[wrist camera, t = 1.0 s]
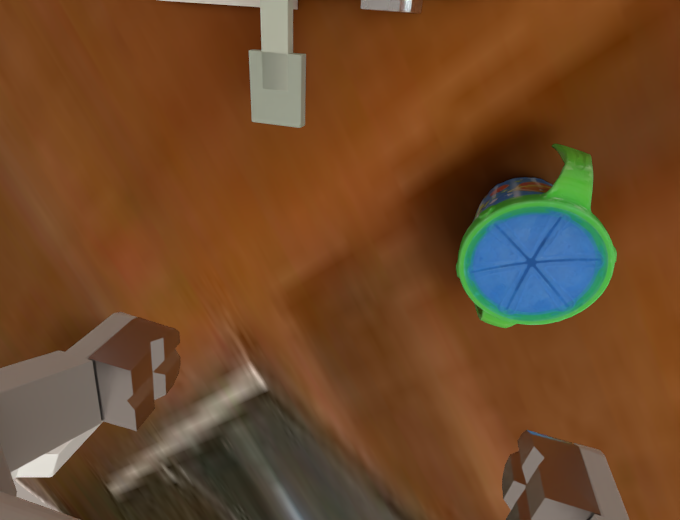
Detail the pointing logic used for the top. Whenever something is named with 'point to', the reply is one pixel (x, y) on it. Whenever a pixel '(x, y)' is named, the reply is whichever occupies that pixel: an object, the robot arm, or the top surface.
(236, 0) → the white flat rimmed tray
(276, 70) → the lever
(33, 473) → the milk
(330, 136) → the top surface
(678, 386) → the top surface
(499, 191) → the snack cup
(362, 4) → the stand
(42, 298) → the top surface
